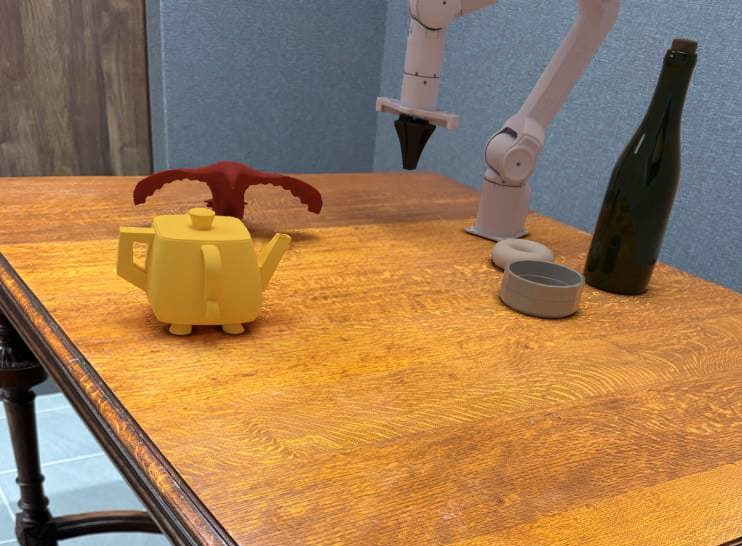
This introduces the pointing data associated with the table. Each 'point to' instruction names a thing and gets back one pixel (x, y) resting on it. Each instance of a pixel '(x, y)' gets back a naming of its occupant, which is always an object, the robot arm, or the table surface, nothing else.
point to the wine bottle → (643, 185)
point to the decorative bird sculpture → (229, 186)
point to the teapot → (200, 269)
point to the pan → (541, 288)
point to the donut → (519, 251)
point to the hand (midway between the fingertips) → (409, 168)
